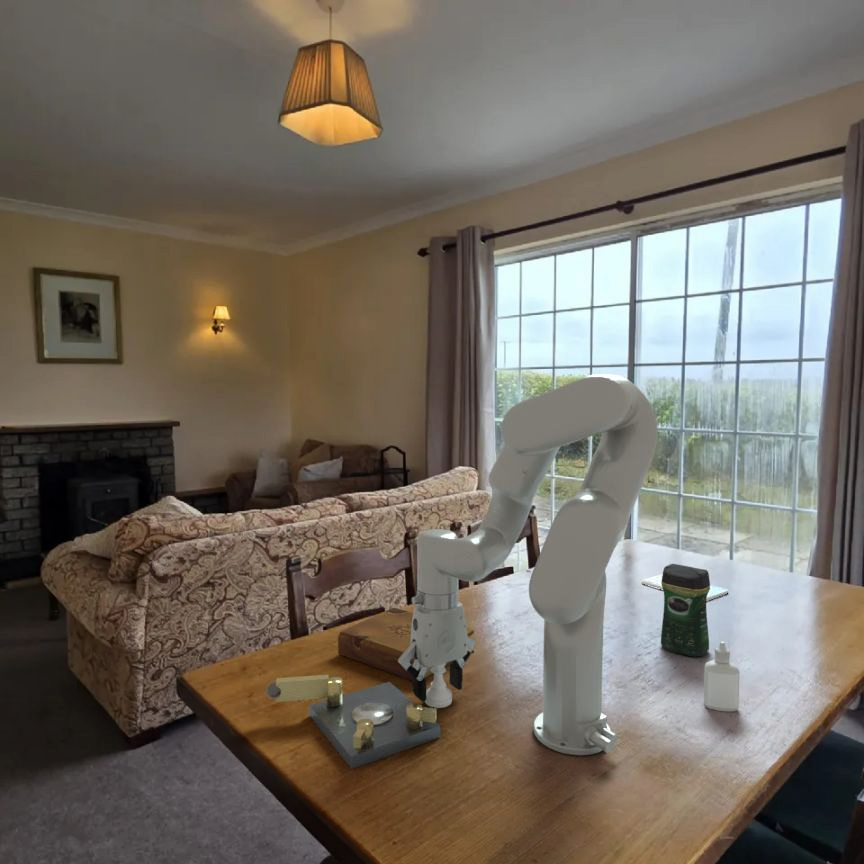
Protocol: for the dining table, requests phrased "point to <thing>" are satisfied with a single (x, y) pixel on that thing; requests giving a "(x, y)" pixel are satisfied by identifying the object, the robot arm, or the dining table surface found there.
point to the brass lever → (307, 689)
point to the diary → (383, 642)
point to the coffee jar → (685, 610)
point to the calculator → (712, 594)
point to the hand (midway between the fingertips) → (438, 691)
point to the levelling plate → (375, 724)
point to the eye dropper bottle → (721, 682)
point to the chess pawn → (438, 689)
